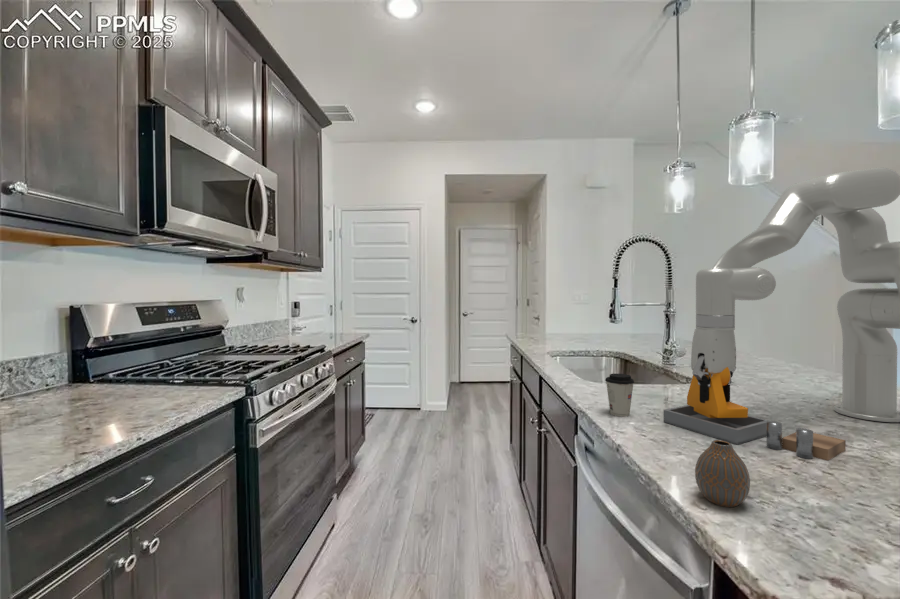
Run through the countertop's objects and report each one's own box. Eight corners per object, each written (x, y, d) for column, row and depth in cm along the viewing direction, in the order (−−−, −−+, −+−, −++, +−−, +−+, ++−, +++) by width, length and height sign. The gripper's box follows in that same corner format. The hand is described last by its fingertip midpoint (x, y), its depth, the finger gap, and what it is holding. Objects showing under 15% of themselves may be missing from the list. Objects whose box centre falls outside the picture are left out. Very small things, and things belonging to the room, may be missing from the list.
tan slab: (800, 441, 86) (800, 430, 86) (845, 452, 80) (845, 440, 80) (781, 450, 82) (781, 438, 81) (827, 463, 75) (827, 449, 75)
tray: (696, 414, 104) (696, 403, 104) (771, 434, 89) (771, 421, 89) (663, 422, 98) (663, 409, 98) (737, 444, 84) (737, 430, 83)
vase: (684, 490, 65) (684, 435, 65) (725, 488, 65) (725, 433, 65) (717, 514, 58) (717, 452, 58) (762, 511, 58) (762, 450, 58)
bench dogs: (770, 444, 84) (770, 420, 83) (815, 457, 77) (815, 431, 77) (764, 446, 82) (764, 421, 82) (809, 459, 76) (809, 433, 76)
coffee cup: (605, 416, 104) (604, 377, 103) (605, 409, 110) (605, 372, 110) (635, 419, 101) (635, 379, 101) (634, 411, 107) (633, 373, 107)
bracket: (750, 421, 89) (750, 366, 89) (717, 421, 88) (718, 366, 88) (715, 407, 100) (716, 358, 99) (686, 407, 99) (687, 358, 99)
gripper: (720, 320, 101) (720, 394, 101) (675, 323, 93) (675, 403, 93) (754, 322, 94) (754, 401, 94) (708, 325, 86) (708, 411, 87)
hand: (714, 401), depth 94 cm, fingers closed on bracket, 4 cm apart
